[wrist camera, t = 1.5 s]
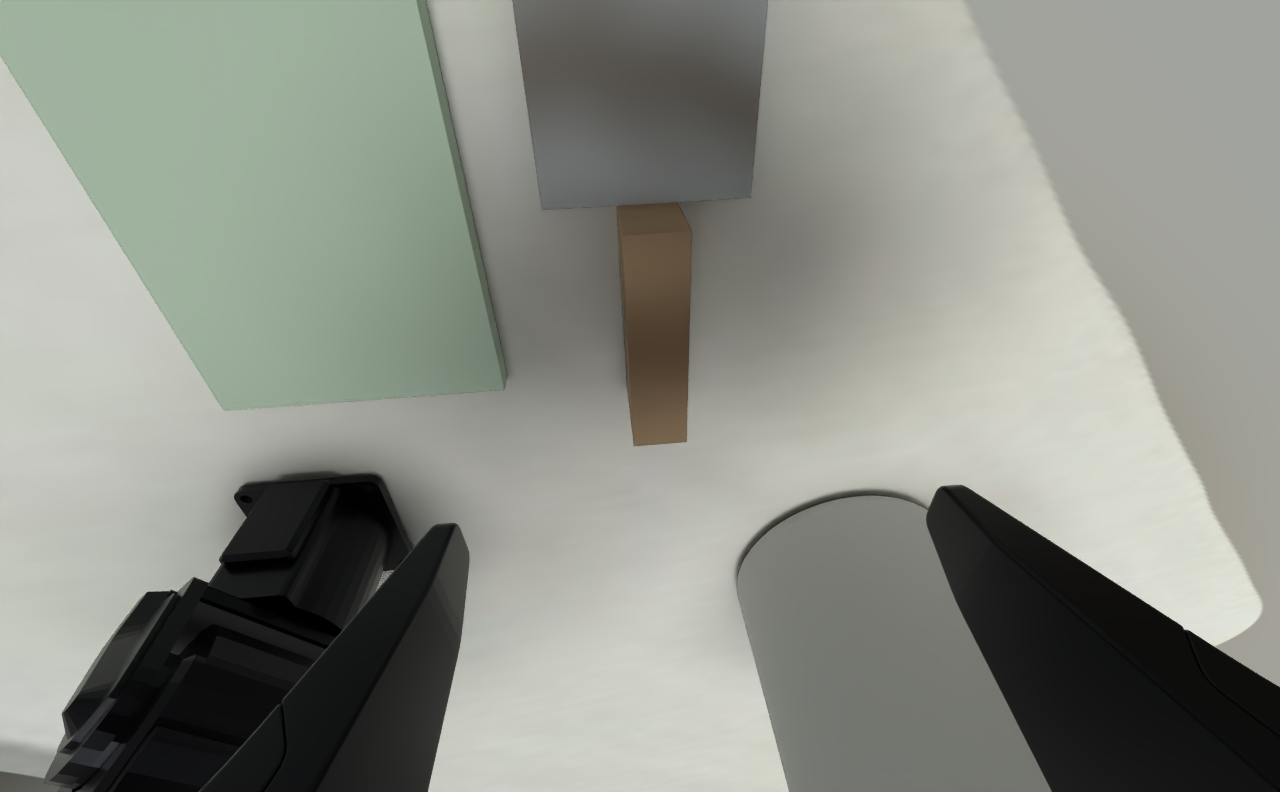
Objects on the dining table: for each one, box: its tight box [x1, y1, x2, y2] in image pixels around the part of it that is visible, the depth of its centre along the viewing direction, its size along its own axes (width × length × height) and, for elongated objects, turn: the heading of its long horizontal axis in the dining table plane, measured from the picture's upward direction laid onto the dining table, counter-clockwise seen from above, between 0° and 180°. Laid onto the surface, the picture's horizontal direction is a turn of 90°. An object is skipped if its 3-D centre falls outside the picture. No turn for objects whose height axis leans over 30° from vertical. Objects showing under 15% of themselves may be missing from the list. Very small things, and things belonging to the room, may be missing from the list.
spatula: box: [512, 0, 768, 446], centre depth 17 cm, size 14×7×4 cm, turn 2°
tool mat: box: [0, 0, 507, 411], centre depth 16 cm, size 18×11×1 cm, turn 2°
